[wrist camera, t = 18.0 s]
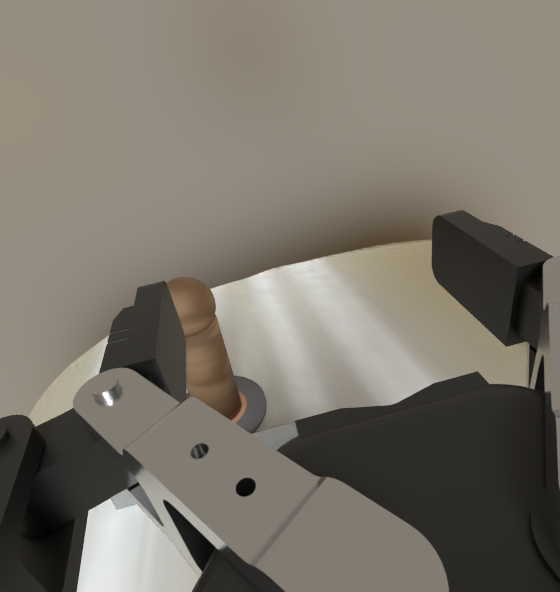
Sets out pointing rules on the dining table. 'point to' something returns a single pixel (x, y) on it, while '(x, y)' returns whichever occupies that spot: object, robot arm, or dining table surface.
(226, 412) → the skittle
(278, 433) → the low wall
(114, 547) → the dining table surface
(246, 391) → the pad
